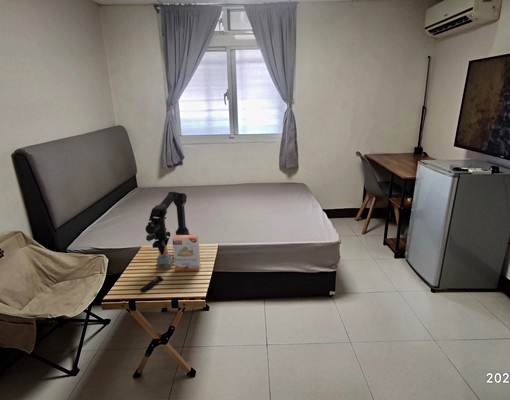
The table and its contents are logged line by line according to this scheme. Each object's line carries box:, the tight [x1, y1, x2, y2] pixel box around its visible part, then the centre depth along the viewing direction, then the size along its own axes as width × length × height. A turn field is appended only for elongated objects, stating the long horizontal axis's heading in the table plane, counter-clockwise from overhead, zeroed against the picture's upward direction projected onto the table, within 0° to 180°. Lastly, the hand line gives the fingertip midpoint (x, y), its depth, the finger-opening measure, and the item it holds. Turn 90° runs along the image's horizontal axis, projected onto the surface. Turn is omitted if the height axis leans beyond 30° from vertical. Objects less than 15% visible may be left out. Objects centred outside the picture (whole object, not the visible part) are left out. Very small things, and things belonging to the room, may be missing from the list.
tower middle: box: [156, 253, 172, 265], centre depth 189 cm, size 6×6×4 cm
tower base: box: [156, 257, 174, 271], centre depth 190 cm, size 8×8×4 cm
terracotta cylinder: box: [158, 244, 169, 256], centre depth 187 cm, size 5×5×5 cm
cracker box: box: [171, 234, 201, 272], centre depth 183 cm, size 14×6×21 cm, turn 89°
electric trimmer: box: [139, 275, 164, 293], centre depth 168 cm, size 4×16×3 cm, turn 156°
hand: (163, 252), depth 187 cm, fingers closed on terracotta cylinder, 5 cm apart
